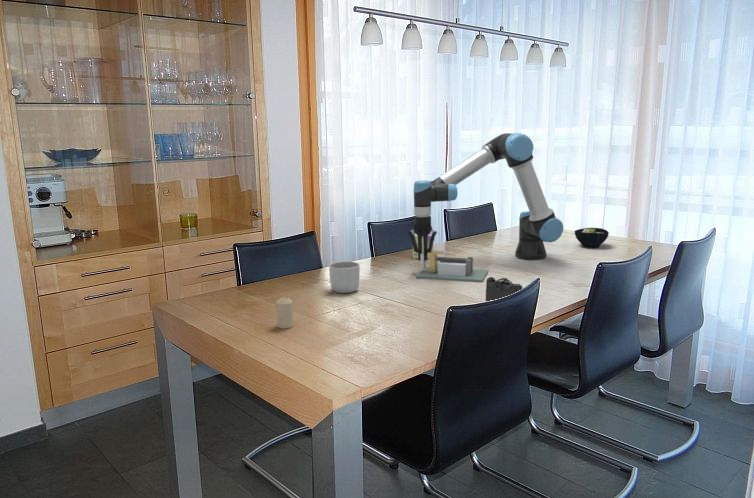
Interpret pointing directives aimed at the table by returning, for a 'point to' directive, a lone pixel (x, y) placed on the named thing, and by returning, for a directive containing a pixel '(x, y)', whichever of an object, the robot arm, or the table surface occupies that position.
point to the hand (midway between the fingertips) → (422, 267)
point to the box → (415, 254)
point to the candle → (284, 313)
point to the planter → (344, 276)
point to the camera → (500, 288)
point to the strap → (452, 259)
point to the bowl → (591, 237)
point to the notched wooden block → (433, 260)
